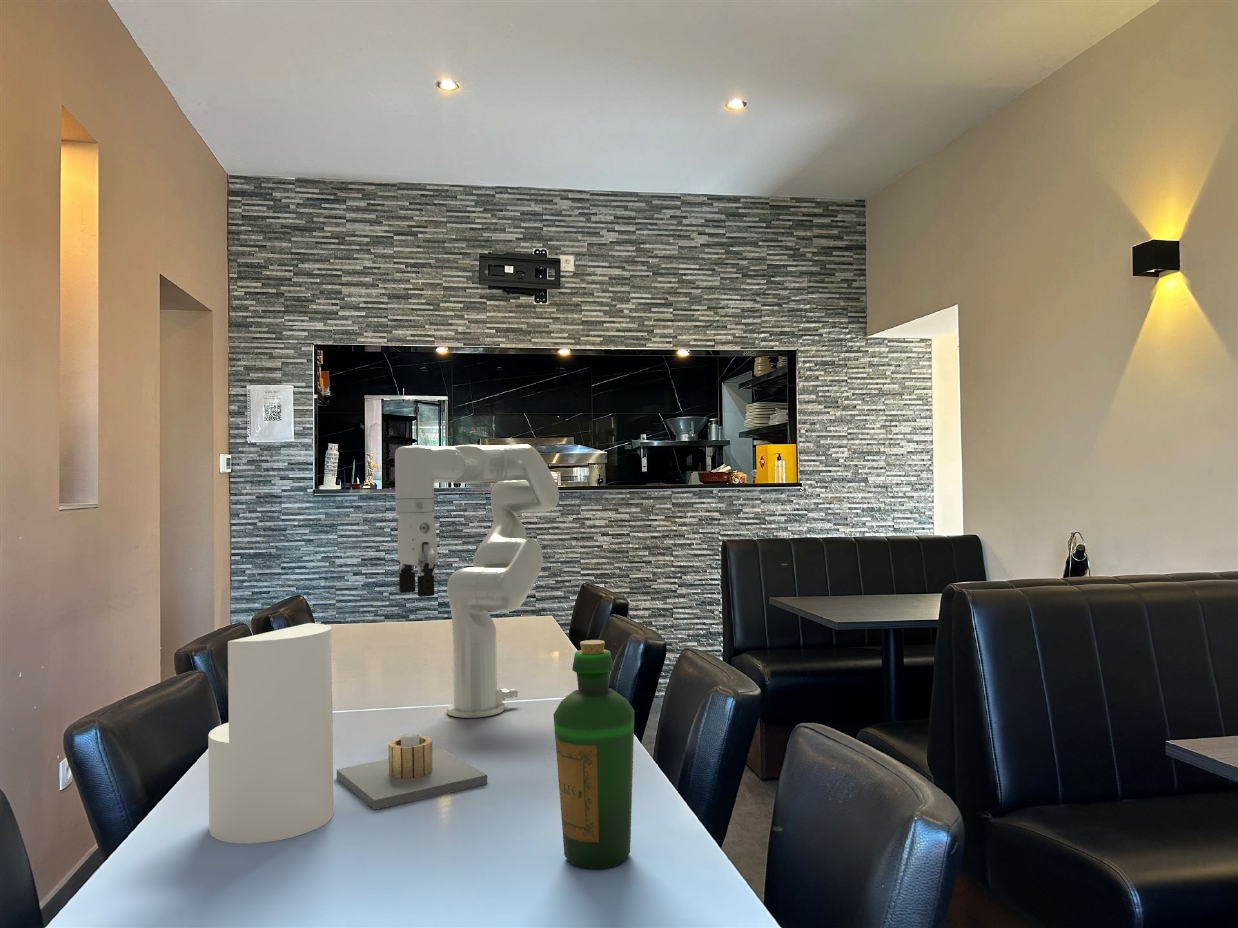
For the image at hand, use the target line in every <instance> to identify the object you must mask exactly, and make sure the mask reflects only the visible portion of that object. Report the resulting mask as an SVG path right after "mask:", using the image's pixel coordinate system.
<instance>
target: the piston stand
mask: <svg viewBox="0 0 1238 928" xmlns="http://www.w3.org/2000/svg"><path fill="white" fill-rule="evenodd" d="M419 736H420V734H419V733H406V734H403V735H401V736H400V738H401V746H414V745H419ZM432 757H433V770H432V772H431V773H430V774H427V775H425V776H422V777H417V778H411V779H403V778H402V779H399V778H393V777H391V776H390V775H389V758H387V759H382V760H377V761H372V762H367V763H361V764H357V765H352V766H347V767H342V768H337V769H336V779H337V780H339V781H340V783H342V784H343V785H344V786H345V787H346V788H347V789H349V790H350V791H351V790H352V791H351V792H352V793H354V794H355V795H356V796H357V798H358V797H359V798H360V799H361V801H363V802H364V801H365V802H364V803H366V804H367V805H368V807H370V806H371V807H372V808H371V807H370V808H371V809H373V808H374V809H373V810H374V811H376V810H375V809H377V810H379V809H378V808H381V809H384V807H386V808H388V807H387V806H390V807H393V805H394V806H397V805H398V804H399V805H402V804H401V803H403V804H407V803H410V802H411V801H412V802H415V801H419V800H424V799H428V798H431V797H436V796H442V795H446V794H449V793H455V792H458V791H462V790H467V789H471V788H475V787H481V786H485V785H488V774H486V773H485V772H484V771H481V770H480V769H478V768H476V767H474V766H472V765H471V764H470V763H468V762H466V761H464V760H462V759H460V758H458V757H456V756H455V755H453V754H452V753H450V752H448V751H446V750H445V749H443V748H437V749H432ZM412 802H411V803H412Z"/></svg>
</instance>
